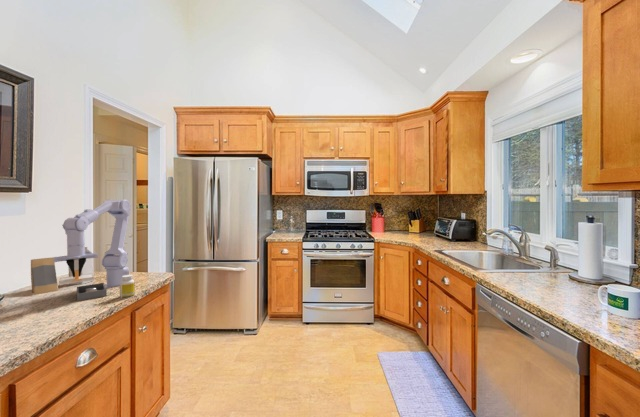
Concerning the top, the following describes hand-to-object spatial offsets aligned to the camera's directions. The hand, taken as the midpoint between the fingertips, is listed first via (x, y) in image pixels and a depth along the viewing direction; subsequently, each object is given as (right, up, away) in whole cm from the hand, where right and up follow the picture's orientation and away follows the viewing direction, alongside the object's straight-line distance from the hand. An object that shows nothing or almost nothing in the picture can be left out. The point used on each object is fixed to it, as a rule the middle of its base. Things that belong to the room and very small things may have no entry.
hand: (76, 276), depth 123 cm
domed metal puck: (-1, -10, +9) cm, 13 cm away
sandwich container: (-27, -11, +14) cm, 32 cm away
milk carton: (-21, -10, +27) cm, 35 cm away
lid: (-2, -3, +2) cm, 4 cm away
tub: (+1, -10, +6) cm, 12 cm away
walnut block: (+3, -10, +4) cm, 11 cm away
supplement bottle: (+20, -11, +4) cm, 23 cm away
